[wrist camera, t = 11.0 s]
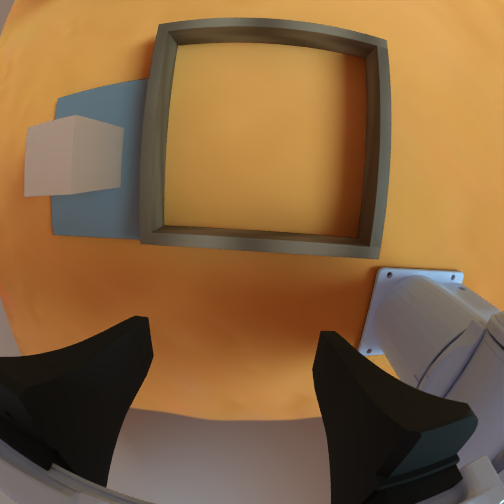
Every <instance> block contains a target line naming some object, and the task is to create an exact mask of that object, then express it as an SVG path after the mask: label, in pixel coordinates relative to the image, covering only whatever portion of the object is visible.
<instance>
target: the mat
mask: <svg viewBox="0 0 504 504" xmlns="http://www.w3.org/2000/svg"><path fill="white" fill-rule="evenodd" d="M148 80H149V78H147V79H141V80H134V81H128V82H123V83H117V84H112V85H108V86H103V87H99V88H94V89H90V90H86V91H82V92H79V93H75V94H71V95H68V96H65V97H61V98H58V101H57V107H56V114H55V120H56V119H60V118H64V117H68V116H73V115H79V116H83V117H87V118H90V119H94V120H98V121H101V122H105V123H109V124H112V125H116V126H119V127H122V128H124V136H123V149H122V166H121V187H119V188H111V189H104V190H97V191H90V192H84V193H77V194H71V195H51V211H52V227H53V235H67V236H85V237H103V238H121V239H138V240H140V165H141V146H142V133H143V121H144V111H145V102H146V94H147V87H148Z"/></svg>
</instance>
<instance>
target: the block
mask: <svg viewBox="0 0 504 504" xmlns="http://www.w3.org/2000/svg"><path fill="white" fill-rule="evenodd" d="M123 136H124V128H122V127H119V126H116V125H112V124H109V123H105V122H101V121H98V120H94V119H90V118H87V117H83V116H79V115H73V116H68V117H64V118H60V119H56V120H52V121H49V122H45V123H42V124H38V125H35V126H32V127H29V128H28V129H27V138H26V150H25V169H24V197H33V196H50V195H71V194H77V193H84V192H90V191H97V190H104V189H111V188H119V187H121V166H122V149H123Z"/></svg>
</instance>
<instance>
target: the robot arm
mask: <svg viewBox="0 0 504 504" xmlns="http://www.w3.org/2000/svg"><path fill="white" fill-rule="evenodd" d="M388 272H390V275H389V276H387V273H388ZM452 275H453V276H452ZM451 276H452V278H451ZM463 276H464V275H463V273H462V272H460V271H448V270H428V269H409V268H391V267H381V268H380V269H379V270H378V271H377V275H376V279H375V284H374V289H373V293H372V298H371V302H370V306H369V310H368V314H367V318H366V322H365V326H364V330H363V333H362V337H361V340H360V344H359V347H358V351H357V350H356V349H355V348H354V347H353V346H352V345H350V344H349V343H348V342H347V341H346V340H345V339H344V338H342V337H341V336H340V335H339V334H338V333H336V332H335V331H321V332H320V337H319V342H318V346H317V351H316V355H315V360H314V364H313V368H312V371H313V380H314V388H315V392H316V396H317V400H318V404H319V408H320V411H321V415H322V419H323V423H324V426H325V431H326V436H327V443H328V452H329V462H330V477H331V504H501V503H502V502H503V501H504V311H502V312H500V310H499V309H497V308H496V307H495V306H493V305H492V304H491V303H489V302H488V301H486V300H485V299H483V298H482V297H481V296H479V295H478V294H476V293H475V292H473V291H472V290H470V289H469V288H467V287H466V286H464V285H463V284H462V281H463ZM368 349H370V350H369V351H367V350H368ZM381 354H385V356H386V357H387V359H388V361H389V362H390V364H391V366H392V367H393V369H394V371H395V372H396V374H397V376H398V377H399V379H400V380H398V379H397V378H395V377H393V376H391V375H390V374H388V373H386V372H385V371H383V370H382V369H380V368H379V367H378V366H376V365H375V364H374V363H372V362H371V361H370V360H368V359H367V358H366V357H365V355H381ZM153 356H154V355H153V348H152V342H151V335H150V327H149V320H148V317H141V316H133V317H131V318H129V319H127V320H125V321H123V322H121V323H119V324H117V325H115V326H113V327H111V328H109V329H107V330H105V331H103V332H101V333H99V334H97V335H95V336H93V337H90V338H88V339H86V340H84V341H82V342H79V343H77V344H74V345H71V346H68V347H65V348H62V349H59V350H55V351H50V352H46V353H42V354H36V355H30V356H20V357H0V489H1V490H2V491H3V492H4V493H5V494H7V495H8V496H9V497H10V498H11V499H13V500H14V501H15V502H17V503H18V504H154V503H151V502H147V501H143V500H140V499H136V498H134V497H130V496H127V495H124V494H121V493H119V492H116V491H113V490H110V489H108V488H106V486H107V480H108V475H109V469H110V464H111V460H112V456H113V452H114V449H115V445H116V441H117V438H118V435H119V432H120V429H121V426H122V424H123V421H124V418H125V416H126V413H127V411H128V409H129V407H130V406H131V404H132V402H133V400H134V398H135V396H136V394H137V392H138V390H139V389H140V387H141V385H142V383H143V381H144V379H145V377H146V375H147V373H148V370H149V368H150V365H151V362H152V359H153Z"/></svg>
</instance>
